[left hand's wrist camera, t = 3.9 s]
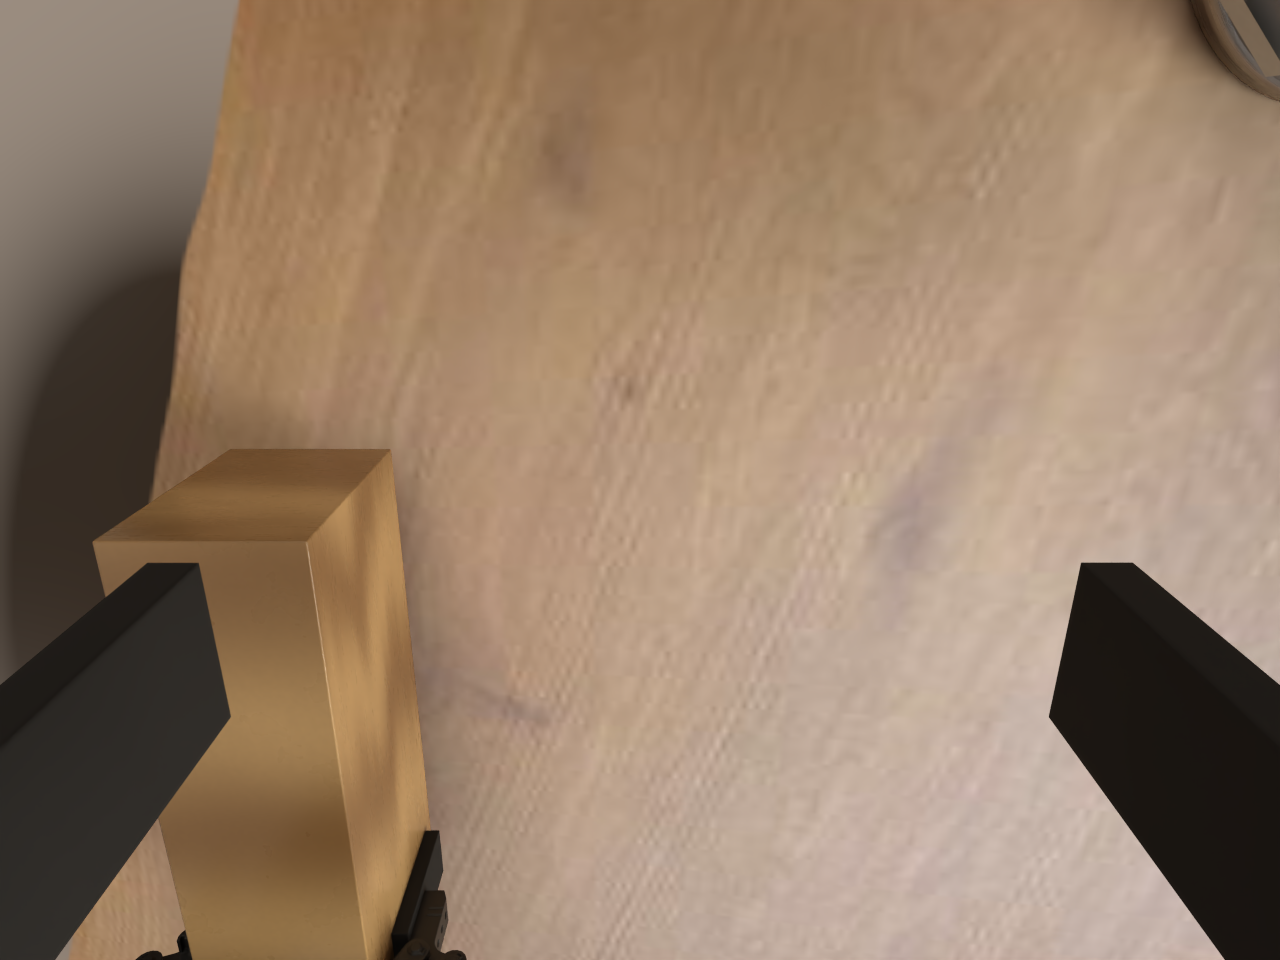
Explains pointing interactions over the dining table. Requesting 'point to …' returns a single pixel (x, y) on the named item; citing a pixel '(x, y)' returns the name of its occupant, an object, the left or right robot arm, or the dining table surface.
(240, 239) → the dining table surface
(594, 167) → the dining table surface
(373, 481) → the box
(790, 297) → the dining table surface
